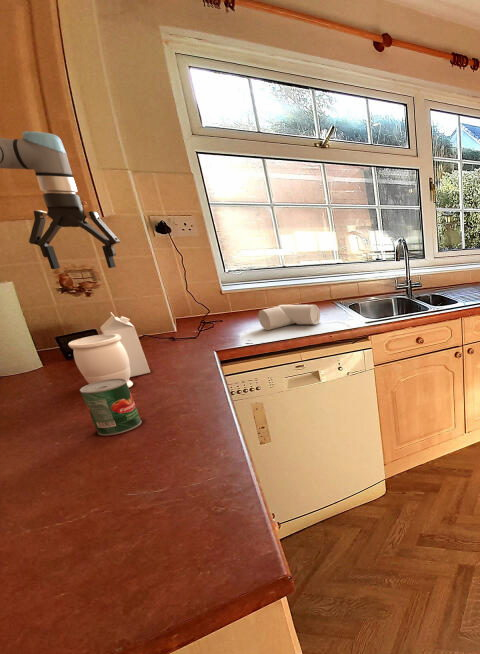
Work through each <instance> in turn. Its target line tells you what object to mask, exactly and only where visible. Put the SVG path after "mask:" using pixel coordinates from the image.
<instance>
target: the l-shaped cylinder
mask: <svg viewBox="0 0 480 654" xmlns="http://www.w3.org/2000/svg"><path fill="white" fill-rule="evenodd" d="M257 317H258V322H259V323H260V325H261V327H262V328H263V329H264V330H265V331H270V330H274V329H279V328H283V327H286V326H291V325H294V324H296V325H318V324H319V323H320V321H321V320H320V319H321V312H320V307H318V306H317V305H316V304H278V306H273V307H270V308H266V309H264V308H263V309H260V310H259V311H258V314H257Z"/></svg>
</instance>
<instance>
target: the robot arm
mask: <svg viewBox="0 0 480 654" xmlns="http://www.w3.org/2000/svg"><path fill="white" fill-rule="evenodd" d="M21 135H22V138H3V137H0V169H7V170H8V169H10V170H33V172H34V173H35V174H34V175H35V177H36V179H37V183H38V186H39V190H40V191H42V192H44V193H42V198H43V201H44V204H45V206H46V209H47V211H44V210H36V209H35V210H34V211H33V216H34V220H33V224H32V228H31V232H30V234H29V235H30V236H29V239H28V243H29V244H31V245H35V246H38V247H39V249H40V251H41V253H42V256H43V258H47V260H48V263H49V267H50V269H51V270H58V269H61V265H60V263H59V260H58V257H57V255H56V251H55V248H54V246H53V245H50V243H51V242H52V241H53V240H54V238H55V236H56V235H57V234H58V232H59V230H60V229H62V228H81V229H83V230H84V231H86V232H87V233H89V234H90V235H91V236H92V237H94V238H95V239H96V240H98V241H99V242H101V243H102V244H103V245H102V246H101V248H102V251H103V254H104V257H105V262H106V264H107V267H108V269H114V268H116V267H117V266H116V263H115V260H114V257H116V250H115V246H114V245H116V244H120V242H121V240H120V239H119V238H118V237H117V235H116V234H115V233H114V232H113V231H112V230H111V229H110V228H109V226H107V224H106V223H105V222H104V221H103V220H102V219H101V217H100V214H99V212H97V211H95V210H90V211H85V210H84V207H83V204H82V200H81V198H80V195H79V194H76V193H78V192H79V191H78V188H77V185H76V182H75V179H74V175H73V171H72V169H71V165H70V162H69V158H68V153H67V152H66V149H65V146H64V144H63V141H62V139H61V138H60V137H59V135H56V134H54V133H49V132H42V131H35V130H34V131H33V130H32V131H29V130H25V131H23V132H22V133H21ZM46 217H47V218H46ZM48 217H49V218H50V219H51V220H52V221H51V222H50V224H49V227H48V228H47V229H46V230H45V232H44V229H45V225H46V223H47V222H46V221H47V219H48ZM87 218H88V219H89V220H91V221H92V222H93V223H94V225H95V226H96V227H97V228H98V229H99V230H100V231H101V232H100V231H99V230H97V229H96V228H95V227H94V226H92V225H91V224H90V223H89V222H88V221H87V220H86V219H87ZM43 233H44V234H43Z"/></svg>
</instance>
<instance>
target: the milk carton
mask: <svg viewBox="0 0 480 654" xmlns="http://www.w3.org/2000/svg"><path fill="white" fill-rule="evenodd" d="M130 320H131V319H130V318H128V317H125V316H123V315H122V316H120V317H117V316H115V315H114V313H113V312H112V311H110V317H109V318H108V319H107V320H105V322H104V323H103V324H102V325H101V326H100V327H99V329H100V331H101V335H103V334H119V335H120V337H121V339H120V340H119V341H120V343H121V344H122V345H123V347H124V348H125V350H126V352H127V355H128V358H129V366H130V371H131V374H130V378H133V377H136V376H141V375H146V374H150V373H151V369H150V367H149V365H148V361H147V358H146V356H145V353H144V349H143V347H142V344H141V341H140V339H139V336H138V333H137V330H136V327H135V326H134V324H132V323H131V322H130Z"/></svg>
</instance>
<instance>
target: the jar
mask: <svg viewBox="0 0 480 654" xmlns="http://www.w3.org/2000/svg"><path fill="white" fill-rule="evenodd" d="M120 339H121V337H120V335H119V334H95V335H90V336H86V337H81V338H76V339H73V340H71V341H69V342H68V347H69V349H71V350H72V351H73V359H74V362H75V364H76V367H77V370H79V372H80V373H81V375H82V376H83V377H84V379H85V381H86V382H87V383H88V384H91V383H94V382H98V381H102V380H108V379H117V378H120V379H125V380H126V383H127V385H128V387H129V389H130V388H131V387H132V386H133V385H134V382H133V381H131V380H130V378H131V377H130V374H131V371H130V366H129V358H128V355H127V352H126V350H125V348H124V347H123V345H122V344H121V343H120V341H119V340H120Z"/></svg>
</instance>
